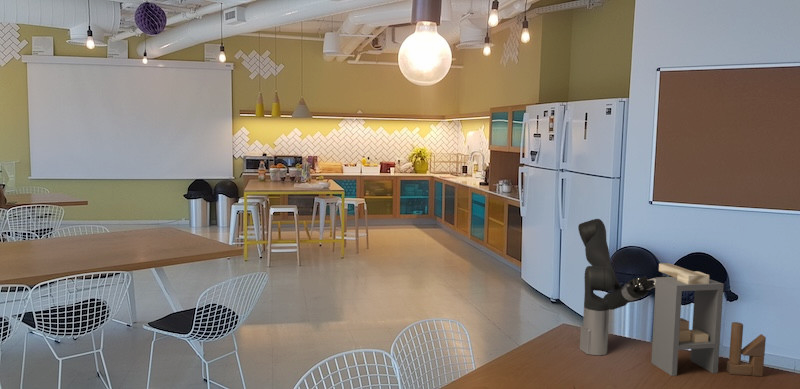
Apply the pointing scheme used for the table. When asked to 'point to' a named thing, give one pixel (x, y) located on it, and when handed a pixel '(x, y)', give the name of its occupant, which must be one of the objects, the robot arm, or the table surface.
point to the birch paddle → (684, 274)
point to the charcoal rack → (686, 324)
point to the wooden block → (745, 353)
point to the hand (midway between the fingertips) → (656, 278)
